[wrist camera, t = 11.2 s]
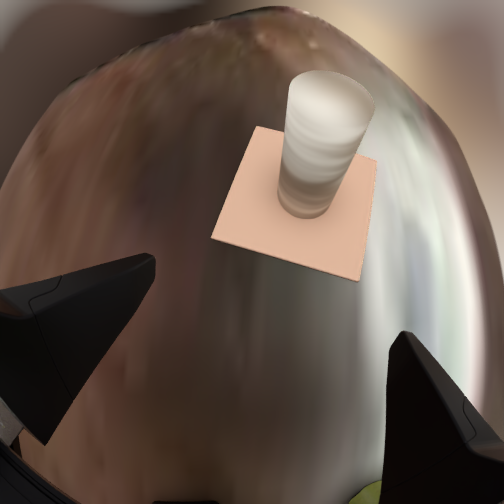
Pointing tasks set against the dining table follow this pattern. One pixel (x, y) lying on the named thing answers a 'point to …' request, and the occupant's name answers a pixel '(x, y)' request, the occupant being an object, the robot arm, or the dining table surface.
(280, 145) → the placemat
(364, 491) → the plant pot
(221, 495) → the dining table surface
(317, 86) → the white cylinder
